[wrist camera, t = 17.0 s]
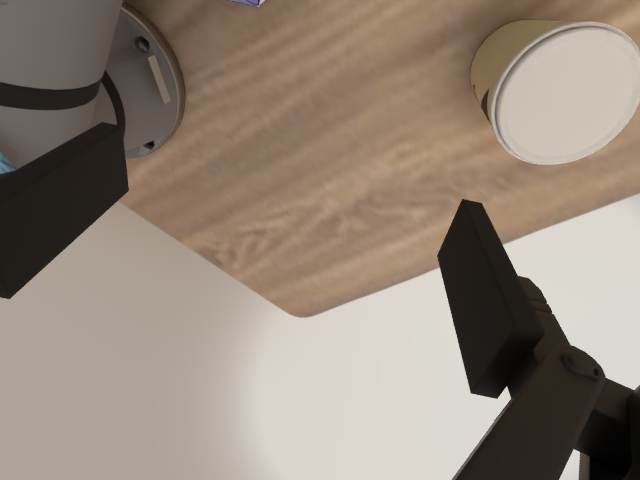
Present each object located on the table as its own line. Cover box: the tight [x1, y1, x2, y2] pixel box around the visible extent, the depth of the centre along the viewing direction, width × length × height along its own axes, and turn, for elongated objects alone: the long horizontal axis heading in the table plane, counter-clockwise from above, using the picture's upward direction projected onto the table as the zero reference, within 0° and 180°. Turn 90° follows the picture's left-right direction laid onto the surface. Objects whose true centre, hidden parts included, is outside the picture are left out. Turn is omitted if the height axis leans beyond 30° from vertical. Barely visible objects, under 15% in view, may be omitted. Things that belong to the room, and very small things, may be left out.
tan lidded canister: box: [470, 20, 640, 165], centre depth 31 cm, size 9×9×12 cm
